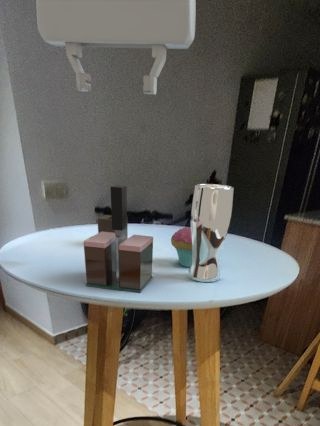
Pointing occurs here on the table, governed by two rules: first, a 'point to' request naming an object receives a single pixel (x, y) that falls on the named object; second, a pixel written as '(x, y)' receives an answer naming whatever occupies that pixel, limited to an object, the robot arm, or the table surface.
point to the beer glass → (209, 229)
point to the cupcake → (183, 245)
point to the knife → (118, 219)
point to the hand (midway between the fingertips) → (116, 92)
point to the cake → (128, 262)
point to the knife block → (108, 225)
